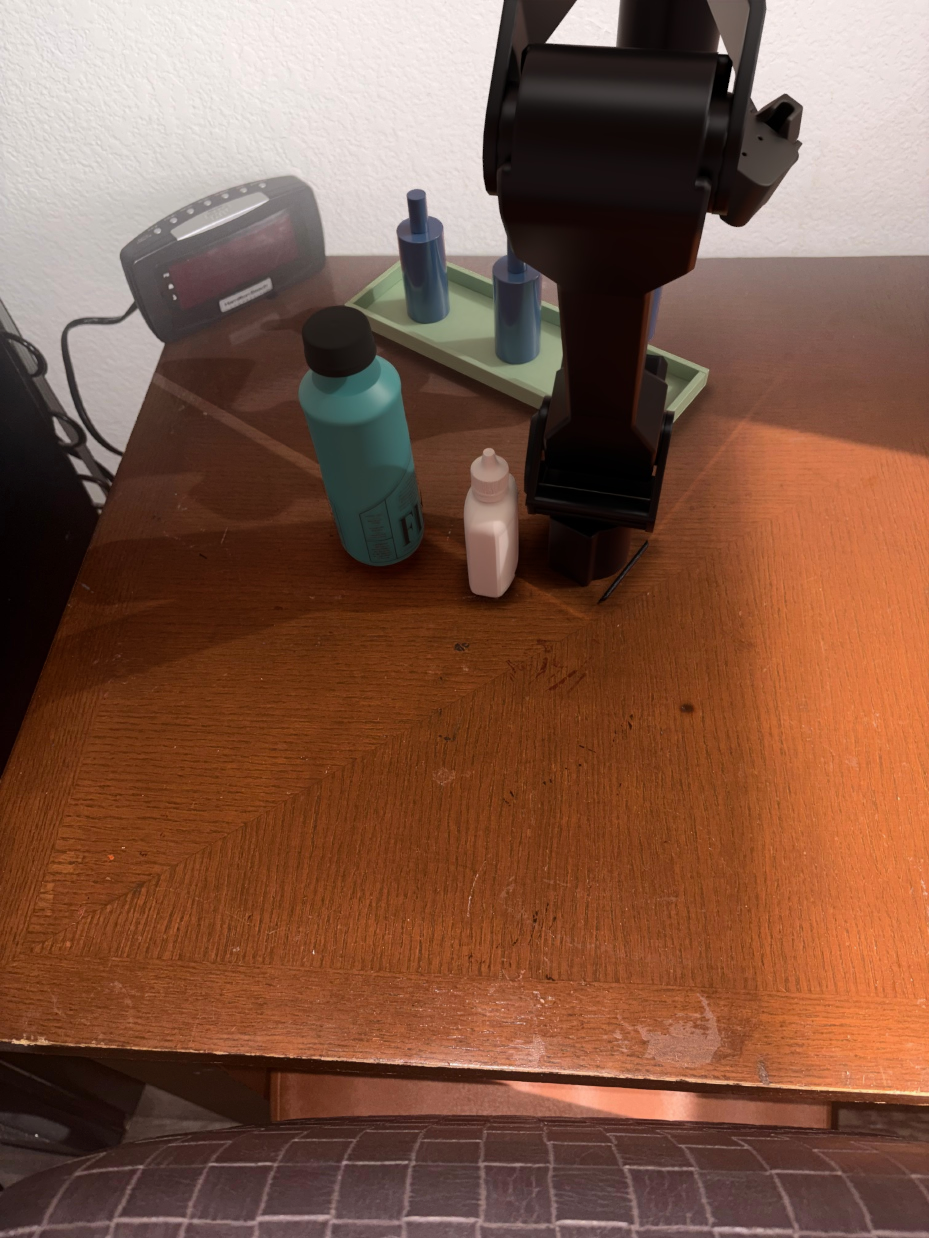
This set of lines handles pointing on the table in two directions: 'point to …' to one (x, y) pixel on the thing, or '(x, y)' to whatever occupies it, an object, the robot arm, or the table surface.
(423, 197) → the blue bottle back
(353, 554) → the beverage bottle
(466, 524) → the eye dropper bottle
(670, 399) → the tray
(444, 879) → the table surface
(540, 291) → the blue bottle middle
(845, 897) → the table surface
